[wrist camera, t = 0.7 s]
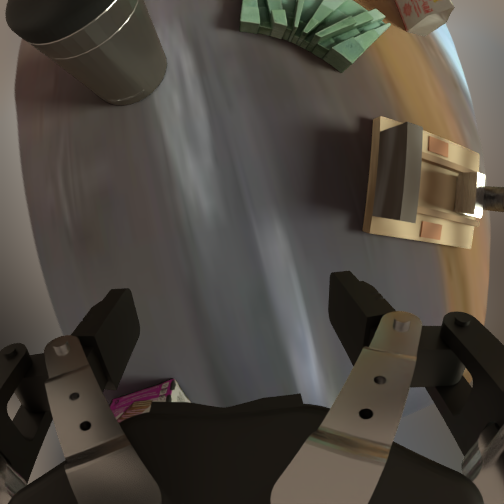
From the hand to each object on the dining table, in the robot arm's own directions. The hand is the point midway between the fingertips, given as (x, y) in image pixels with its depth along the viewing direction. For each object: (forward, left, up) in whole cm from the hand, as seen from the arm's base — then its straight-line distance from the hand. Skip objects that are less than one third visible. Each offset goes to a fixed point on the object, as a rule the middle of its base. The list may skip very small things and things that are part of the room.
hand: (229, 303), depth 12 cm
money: (-26, +15, -23) cm, 38 cm away
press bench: (-2, +26, -22) cm, 35 cm away
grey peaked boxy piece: (-29, +31, -22) cm, 48 cm away
